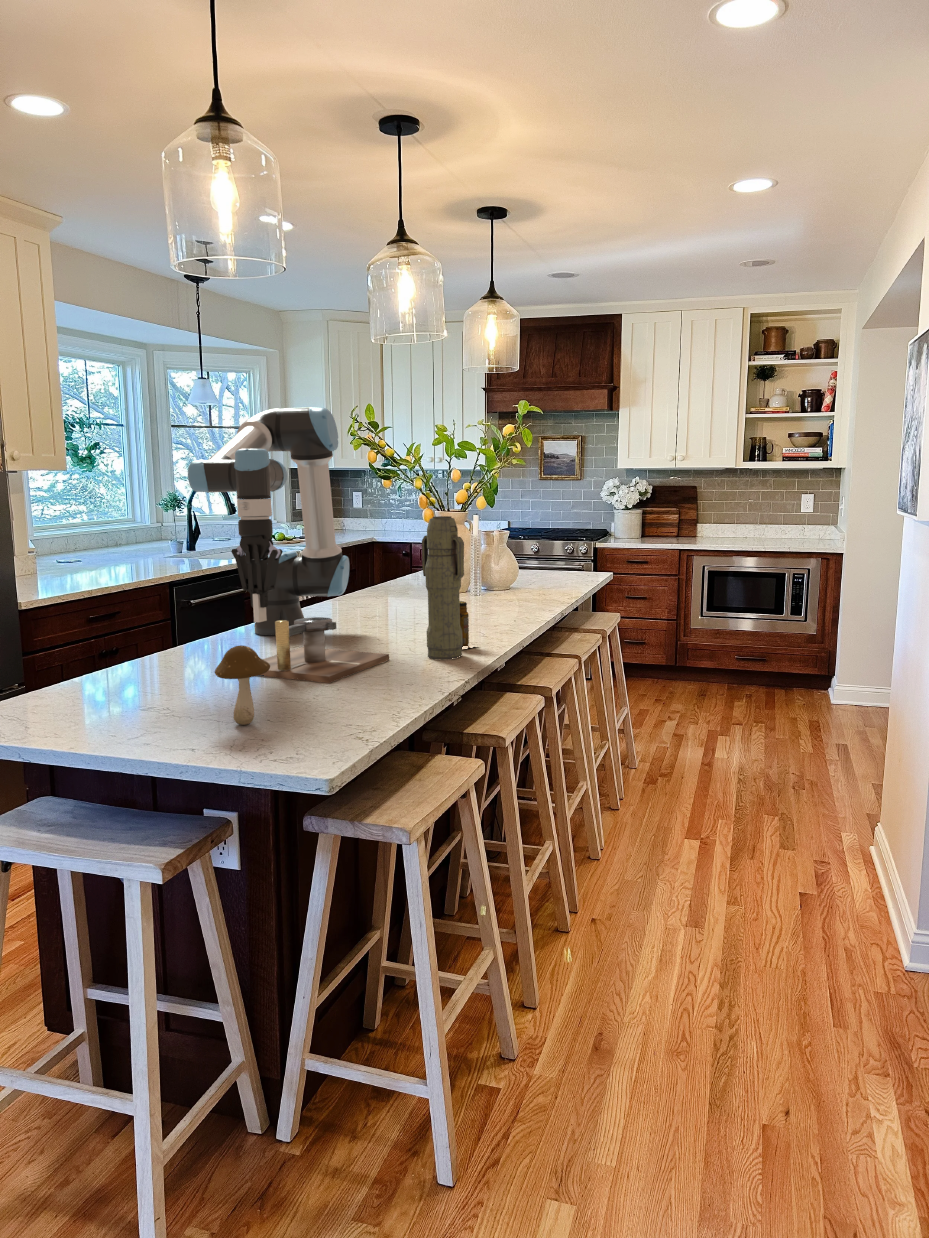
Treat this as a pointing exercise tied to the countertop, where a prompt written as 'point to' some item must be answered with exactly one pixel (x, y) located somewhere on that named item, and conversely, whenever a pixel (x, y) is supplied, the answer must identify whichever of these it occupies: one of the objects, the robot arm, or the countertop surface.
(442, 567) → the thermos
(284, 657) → the crank handle
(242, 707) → the mushroom
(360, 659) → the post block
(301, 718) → the countertop surface
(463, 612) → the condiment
